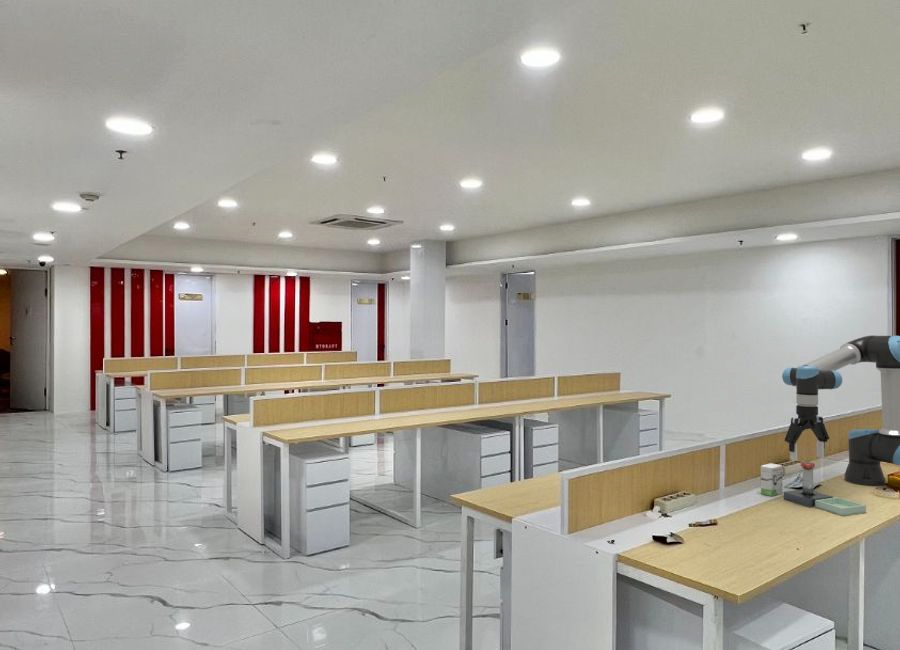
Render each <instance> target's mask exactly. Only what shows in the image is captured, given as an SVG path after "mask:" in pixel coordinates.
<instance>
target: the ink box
mask: <svg viewBox="0 0 900 650" xmlns="http://www.w3.org/2000/svg"><path fill="white" fill-rule="evenodd" d="M783 490H784V489H783V465H781V464H776V463H773V462H772V463H771V462H769V463H767V464H763V465H761V466H760V494H761V495H765V496H769V497H775V496H777V495H782V494H783V493H784V491H783Z"/></svg>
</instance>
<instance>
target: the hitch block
mask: <svg viewBox="0 0 900 650" xmlns="http://www.w3.org/2000/svg"><path fill="white" fill-rule="evenodd" d="M828 498H834V496H832V495H830V494H825V493H822V492H818V491H814V490H813V496H806V495H803V488H802V489H795V490H787V491H783V500H785V501H788V502H790V503H794V504H797V505H801V506H804V507H806V508H815V500H820V499H828Z"/></svg>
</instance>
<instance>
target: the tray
mask: <svg viewBox="0 0 900 650" xmlns="http://www.w3.org/2000/svg"><path fill="white" fill-rule="evenodd" d="M814 508H816V509H818V510H822V511H825V512H828V513H831V514H835V515H838V516H840V517H846V516H848V517H849V516H852V515H854V514H855V515H860V514H859V513H862V514H866V513H867V505H866V504H863V503H860V502H855V501H853V500H848V499H845V498H842V497H833V498H828V499H820V500H815V507H814ZM855 515H854V516H855Z"/></svg>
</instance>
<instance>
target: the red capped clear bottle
mask: <svg viewBox="0 0 900 650" xmlns="http://www.w3.org/2000/svg"><path fill="white" fill-rule="evenodd" d="M800 467H802V470H801V471H802V489H803V495H806V496H813V491H814V469H815V467H816V465H815V463H814V462H809V461H802V462H800Z"/></svg>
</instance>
